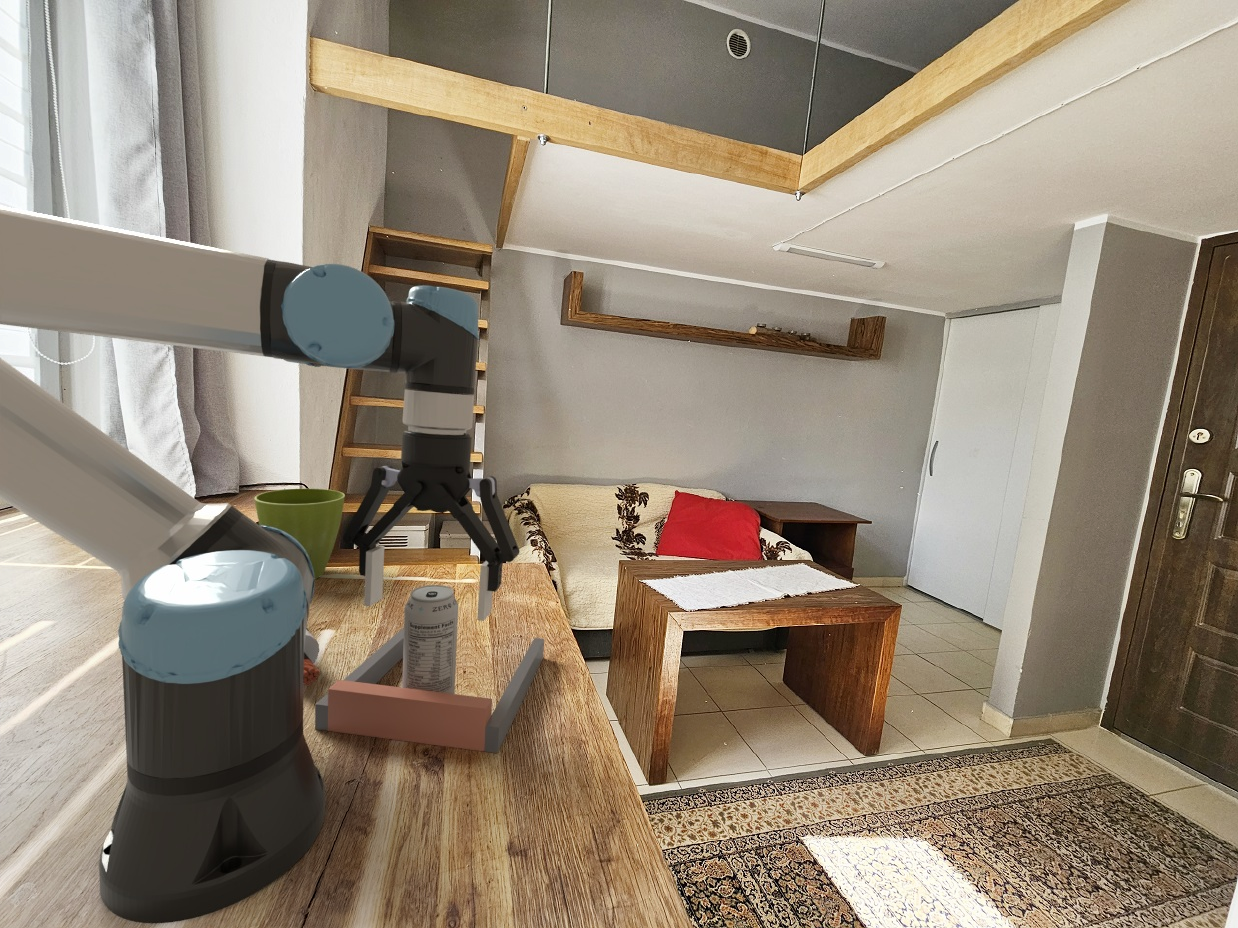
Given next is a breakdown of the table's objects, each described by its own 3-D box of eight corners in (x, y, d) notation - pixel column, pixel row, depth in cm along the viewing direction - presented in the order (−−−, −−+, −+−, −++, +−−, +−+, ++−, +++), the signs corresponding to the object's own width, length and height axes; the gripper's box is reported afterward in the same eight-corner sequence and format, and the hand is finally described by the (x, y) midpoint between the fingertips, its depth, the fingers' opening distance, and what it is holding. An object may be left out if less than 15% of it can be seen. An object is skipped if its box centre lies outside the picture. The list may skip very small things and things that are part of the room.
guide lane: (497, 753, 59) (499, 710, 59) (315, 728, 61) (315, 687, 60) (543, 657, 81) (545, 626, 80) (407, 642, 83) (408, 610, 82)
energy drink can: (456, 695, 69) (461, 583, 67) (450, 724, 64) (455, 602, 62) (407, 697, 68) (410, 582, 66) (396, 726, 62) (399, 601, 60)
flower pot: (307, 594, 97) (308, 507, 95) (234, 583, 100) (233, 498, 98) (359, 569, 112) (361, 493, 110) (295, 560, 114) (295, 485, 112)
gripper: (552, 438, 64) (539, 609, 67) (352, 418, 66) (346, 585, 69) (537, 443, 57) (523, 635, 59) (312, 420, 59) (307, 607, 61)
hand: (428, 609), depth 64 cm, fingers open, 13 cm apart
